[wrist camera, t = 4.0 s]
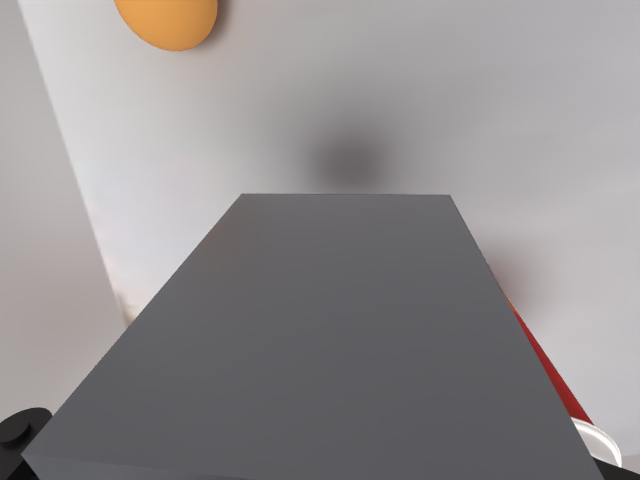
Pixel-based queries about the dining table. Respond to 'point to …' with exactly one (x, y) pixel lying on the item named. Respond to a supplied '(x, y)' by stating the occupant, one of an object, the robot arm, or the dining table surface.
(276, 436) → the gray cube
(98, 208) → the dining table surface
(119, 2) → the ball
